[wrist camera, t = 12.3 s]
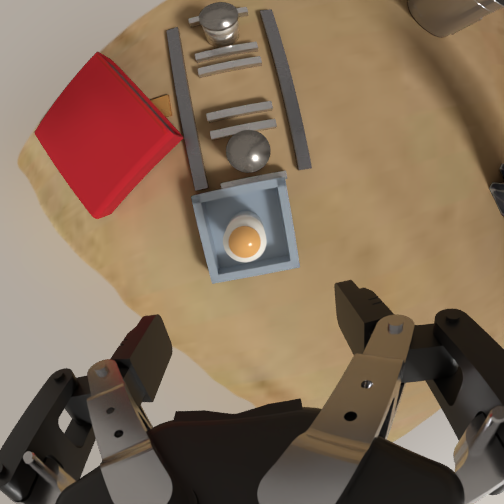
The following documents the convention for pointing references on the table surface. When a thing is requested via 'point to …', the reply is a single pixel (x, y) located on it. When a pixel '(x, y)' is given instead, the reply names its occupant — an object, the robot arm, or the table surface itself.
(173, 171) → the table surface
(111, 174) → the red device housing
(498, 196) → the decorative book
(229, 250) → the halved boiled egg
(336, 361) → the table surface
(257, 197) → the tray
